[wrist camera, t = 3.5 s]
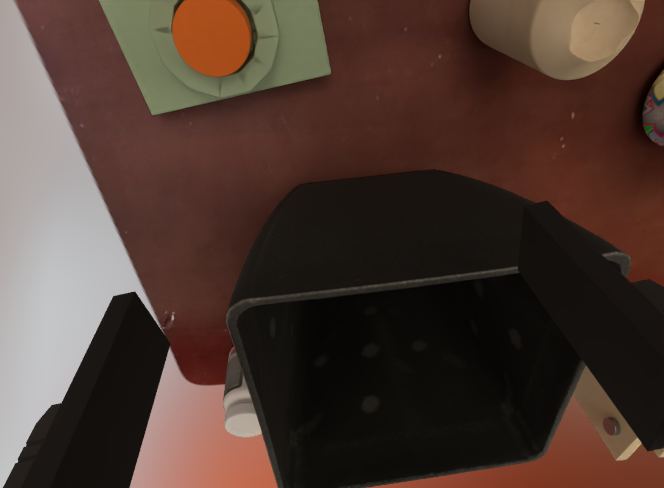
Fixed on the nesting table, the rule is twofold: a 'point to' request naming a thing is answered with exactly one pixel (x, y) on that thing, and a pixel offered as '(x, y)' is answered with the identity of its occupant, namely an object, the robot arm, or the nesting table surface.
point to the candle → (557, 32)
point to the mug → (655, 111)
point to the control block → (195, 88)
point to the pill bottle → (238, 402)
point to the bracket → (607, 418)
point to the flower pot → (399, 332)
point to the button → (212, 35)
